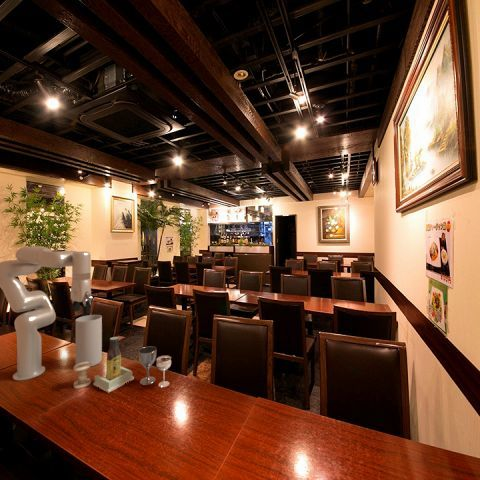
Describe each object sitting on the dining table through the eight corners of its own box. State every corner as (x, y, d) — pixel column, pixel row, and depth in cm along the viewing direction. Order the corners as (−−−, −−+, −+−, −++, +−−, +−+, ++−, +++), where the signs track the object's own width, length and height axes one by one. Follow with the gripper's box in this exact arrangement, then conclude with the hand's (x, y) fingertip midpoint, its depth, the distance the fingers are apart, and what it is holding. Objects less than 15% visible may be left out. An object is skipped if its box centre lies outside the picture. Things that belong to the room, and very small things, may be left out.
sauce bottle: (114, 384, 117) (114, 341, 117) (103, 382, 118) (103, 340, 118) (123, 376, 123) (123, 336, 123) (112, 375, 124) (112, 335, 125)
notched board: (93, 384, 118) (93, 376, 118) (119, 372, 129) (119, 364, 129) (108, 392, 112) (108, 383, 112) (134, 379, 123) (134, 370, 123)
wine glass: (135, 383, 119) (135, 351, 119) (147, 375, 127) (147, 345, 127) (148, 386, 116) (148, 354, 116) (159, 378, 124) (159, 347, 124)
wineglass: (167, 389, 115) (167, 362, 115) (153, 387, 116) (153, 361, 116) (173, 381, 121) (173, 356, 121) (160, 379, 123) (161, 354, 123)
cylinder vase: (103, 356, 147) (103, 314, 148) (99, 366, 135) (99, 320, 136) (79, 359, 143) (79, 316, 144) (72, 370, 132) (72, 322, 132)
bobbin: (70, 385, 117) (70, 366, 117) (86, 378, 123) (86, 360, 123) (78, 390, 114) (78, 370, 114) (93, 382, 120) (94, 364, 120)
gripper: (64, 276, 123) (63, 311, 122) (82, 279, 114) (82, 317, 113) (80, 275, 129) (80, 308, 129) (99, 277, 120) (99, 313, 120)
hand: (81, 312), depth 121 cm, fingers open, 9 cm apart
